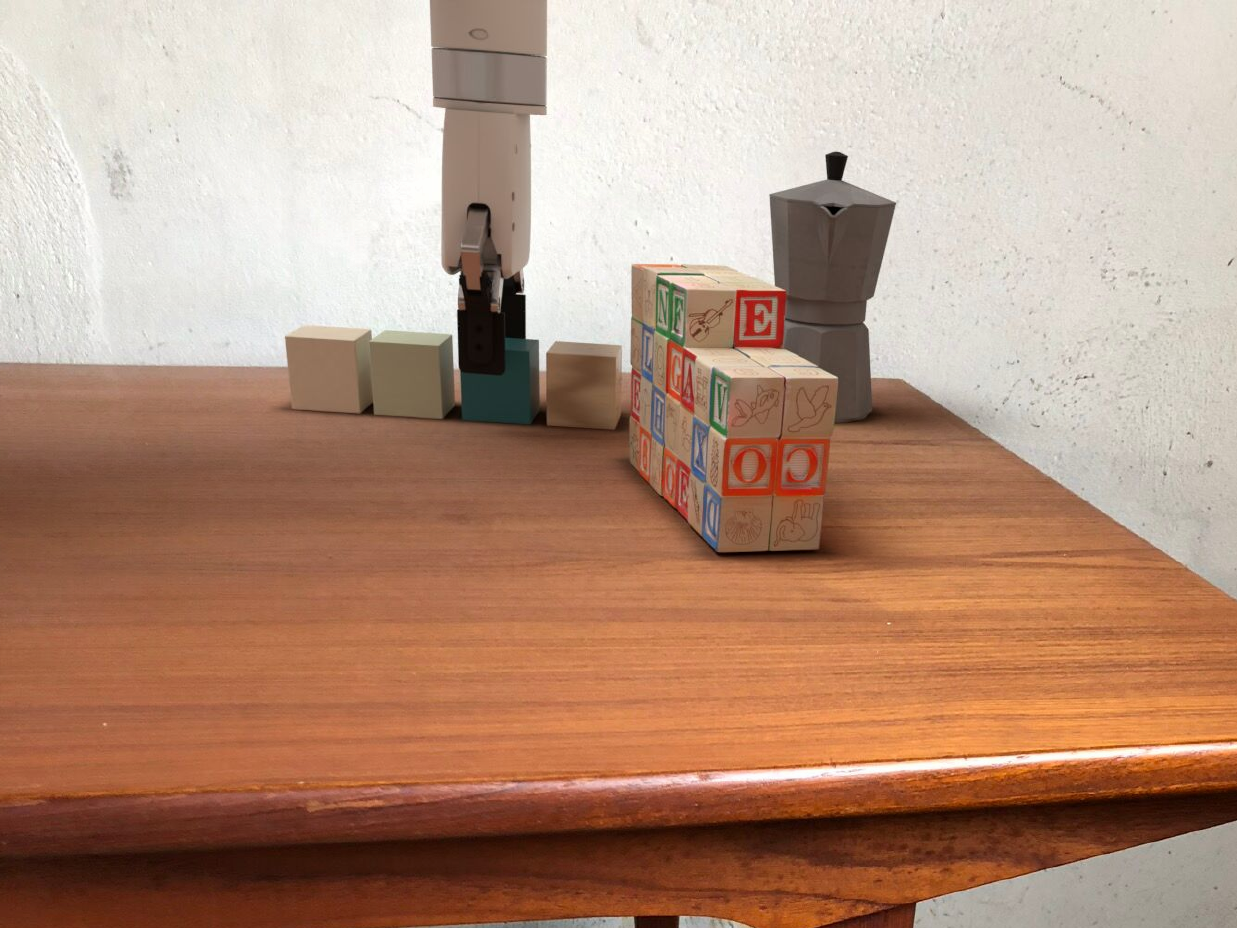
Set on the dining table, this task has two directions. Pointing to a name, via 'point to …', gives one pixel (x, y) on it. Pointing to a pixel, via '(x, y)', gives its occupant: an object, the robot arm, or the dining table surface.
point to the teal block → (505, 387)
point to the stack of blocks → (727, 408)
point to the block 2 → (412, 374)
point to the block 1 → (329, 369)
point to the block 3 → (583, 385)
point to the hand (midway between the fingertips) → (493, 361)
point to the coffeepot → (831, 277)
